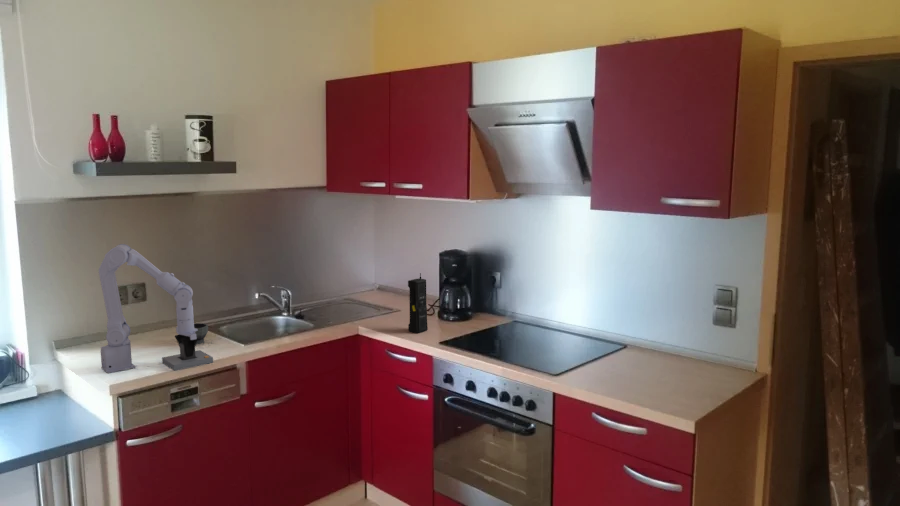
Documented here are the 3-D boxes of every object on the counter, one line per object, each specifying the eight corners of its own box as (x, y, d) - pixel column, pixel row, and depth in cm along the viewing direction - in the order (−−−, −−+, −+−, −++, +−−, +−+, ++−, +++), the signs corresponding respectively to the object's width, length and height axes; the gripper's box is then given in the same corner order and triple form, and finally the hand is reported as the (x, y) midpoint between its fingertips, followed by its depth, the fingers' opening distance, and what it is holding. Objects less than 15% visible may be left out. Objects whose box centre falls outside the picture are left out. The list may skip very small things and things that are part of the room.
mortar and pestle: (196, 338, 274) (194, 310, 272) (214, 340, 270) (212, 312, 269) (175, 345, 264) (173, 316, 262) (193, 347, 260) (192, 318, 258)
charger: (184, 361, 238) (183, 342, 238) (180, 358, 241) (179, 340, 240) (195, 359, 241) (194, 340, 240) (191, 356, 244) (190, 338, 243)
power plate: (174, 370, 232) (173, 364, 232) (162, 362, 241) (161, 356, 241) (213, 362, 242) (212, 356, 241) (200, 355, 250) (199, 349, 250)
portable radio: (417, 334, 281) (416, 276, 277) (406, 332, 284) (406, 275, 281) (428, 330, 287) (428, 274, 283) (418, 328, 291) (417, 272, 287)
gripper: (204, 320, 236) (206, 357, 238) (188, 313, 247) (190, 348, 249) (184, 323, 232) (186, 361, 234) (169, 316, 242) (171, 352, 244)
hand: (187, 354), depth 241 cm, fingers closed on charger, 4 cm apart
